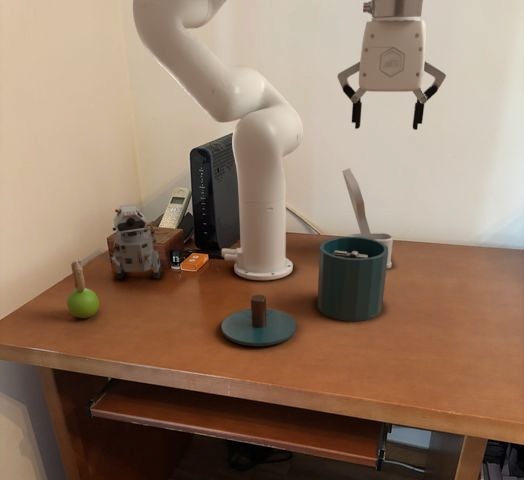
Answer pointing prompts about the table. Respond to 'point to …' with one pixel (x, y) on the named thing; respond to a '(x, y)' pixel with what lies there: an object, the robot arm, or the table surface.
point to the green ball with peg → (81, 295)
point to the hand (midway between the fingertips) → (385, 128)
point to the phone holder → (360, 215)
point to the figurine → (134, 243)
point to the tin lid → (258, 325)
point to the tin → (352, 278)
